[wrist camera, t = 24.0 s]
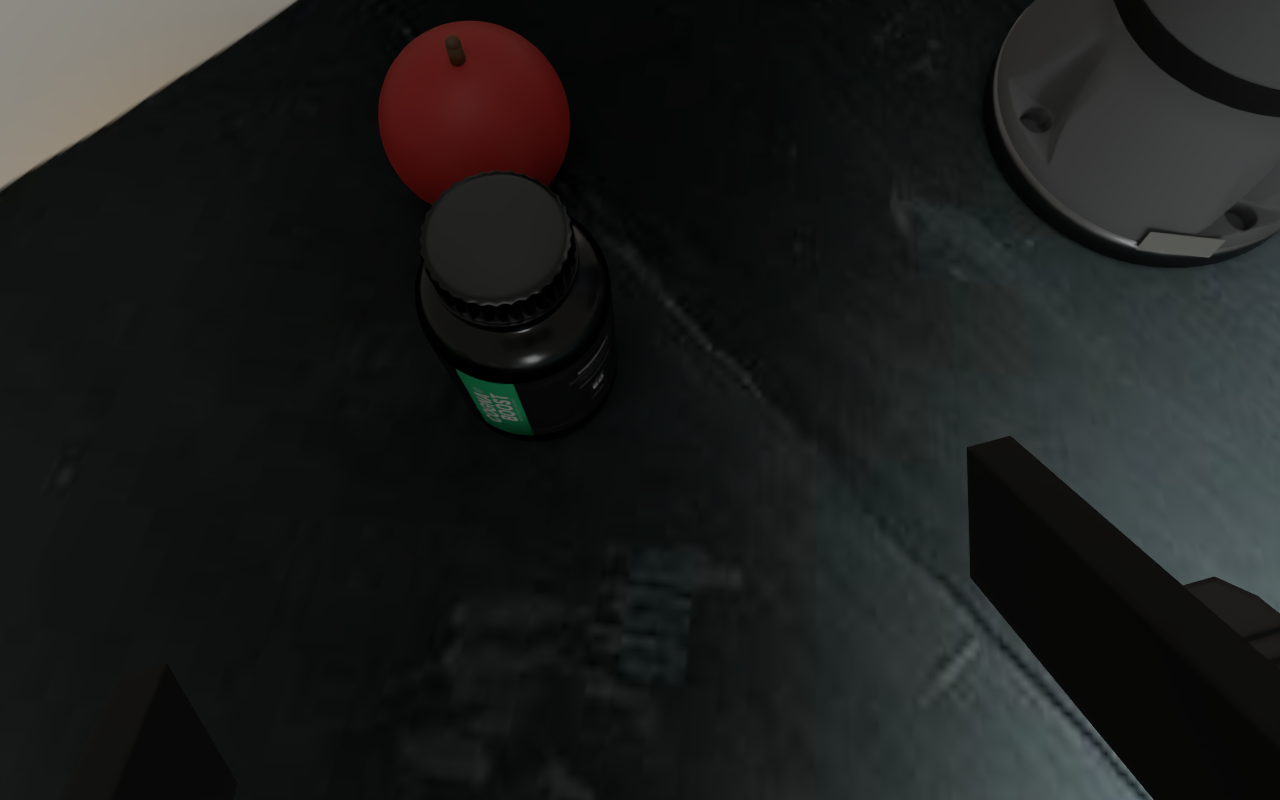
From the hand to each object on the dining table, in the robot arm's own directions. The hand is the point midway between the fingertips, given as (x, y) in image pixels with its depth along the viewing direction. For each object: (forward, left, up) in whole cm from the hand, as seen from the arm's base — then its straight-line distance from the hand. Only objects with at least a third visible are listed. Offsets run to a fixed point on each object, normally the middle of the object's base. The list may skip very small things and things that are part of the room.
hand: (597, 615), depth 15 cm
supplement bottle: (-9, -10, -22) cm, 25 cm away
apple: (-16, -17, -22) cm, 32 cm away
